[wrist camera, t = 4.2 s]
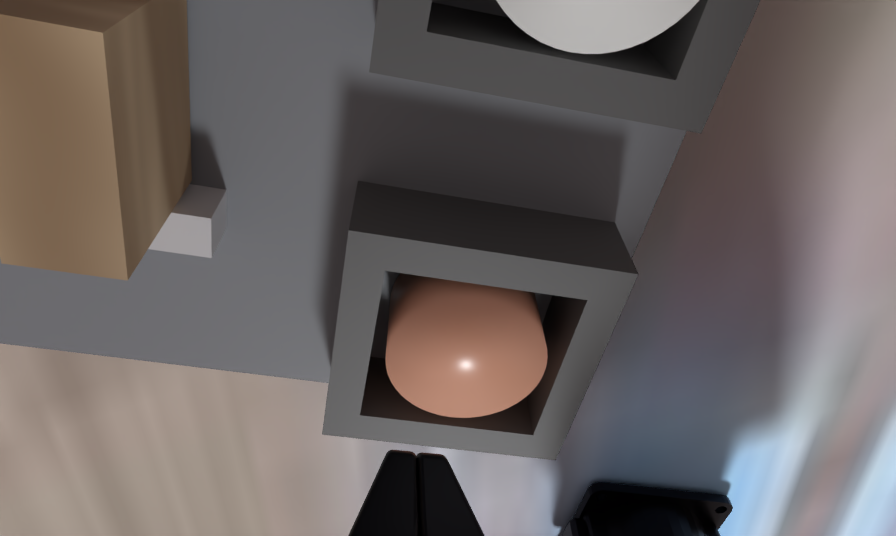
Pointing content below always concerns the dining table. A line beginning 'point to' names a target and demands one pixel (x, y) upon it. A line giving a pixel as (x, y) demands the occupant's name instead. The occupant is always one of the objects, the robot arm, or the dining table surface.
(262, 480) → the dining table surface
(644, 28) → the button grey
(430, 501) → the robot arm
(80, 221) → the upright wooden block
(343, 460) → the dining table surface
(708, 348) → the dining table surface
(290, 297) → the control panel
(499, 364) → the button terracotta
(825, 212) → the dining table surface
